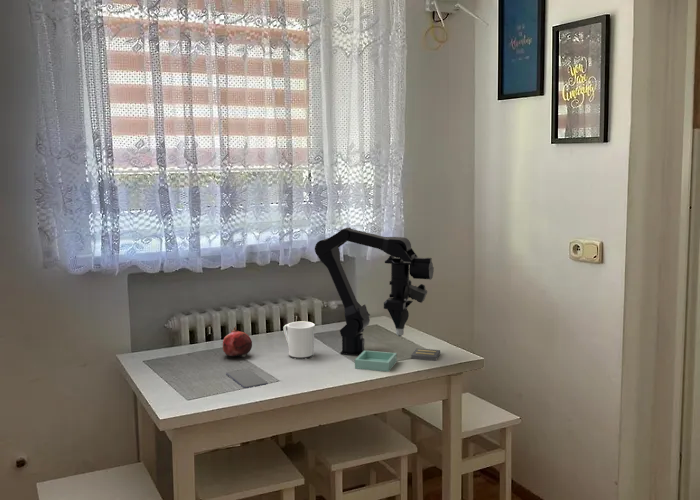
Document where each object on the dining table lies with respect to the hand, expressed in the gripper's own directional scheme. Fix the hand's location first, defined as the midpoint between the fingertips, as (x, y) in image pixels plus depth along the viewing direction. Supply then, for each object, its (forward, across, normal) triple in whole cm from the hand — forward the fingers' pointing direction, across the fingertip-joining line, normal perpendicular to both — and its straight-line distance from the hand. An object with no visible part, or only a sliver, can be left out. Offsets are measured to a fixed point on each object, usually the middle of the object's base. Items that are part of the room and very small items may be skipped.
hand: (399, 325), depth 236 cm
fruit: (+11, -14, +51) cm, 54 cm away
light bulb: (+4, 0, 0) cm, 4 cm away
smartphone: (+11, -34, +38) cm, 52 cm away
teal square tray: (+11, -10, +5) cm, 15 cm away
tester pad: (+11, +4, -8) cm, 14 cm away
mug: (+11, -7, +32) cm, 35 cm away
